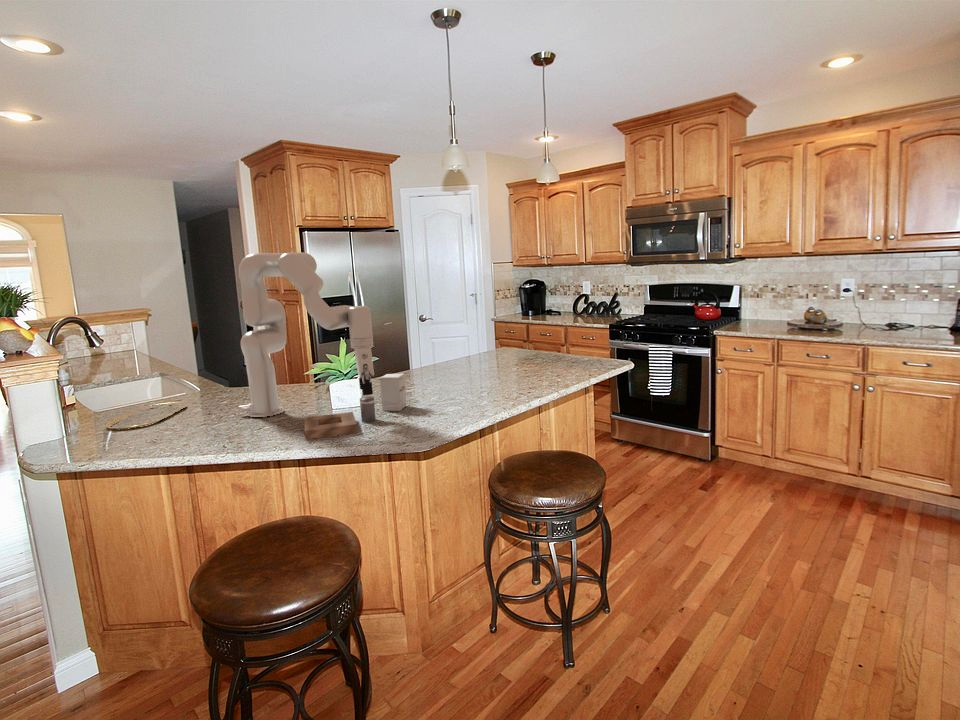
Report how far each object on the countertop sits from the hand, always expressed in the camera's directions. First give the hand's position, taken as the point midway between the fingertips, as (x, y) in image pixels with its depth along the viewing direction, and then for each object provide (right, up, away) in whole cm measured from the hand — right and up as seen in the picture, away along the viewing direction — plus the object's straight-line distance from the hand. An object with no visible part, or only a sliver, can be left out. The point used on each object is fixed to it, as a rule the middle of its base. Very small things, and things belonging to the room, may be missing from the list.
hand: (366, 391), depth 183 cm
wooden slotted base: (-10, -12, -7) cm, 17 cm away
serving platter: (-88, -12, +22) cm, 91 cm away
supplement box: (+7, -7, +16) cm, 19 cm away
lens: (0, -10, +2) cm, 10 cm away
